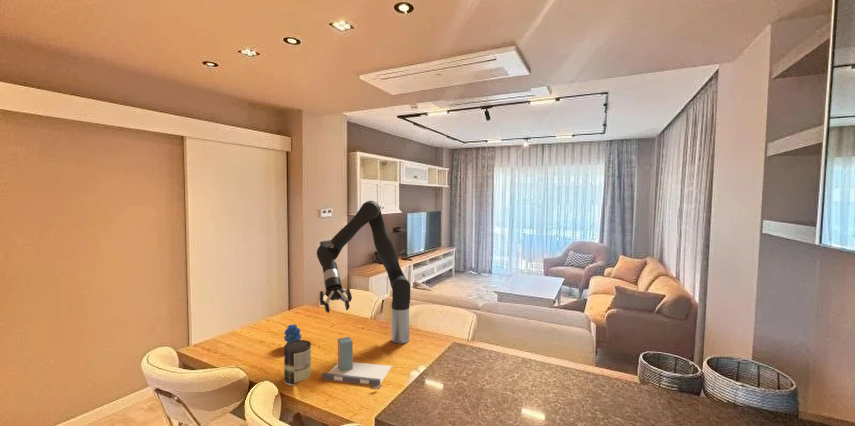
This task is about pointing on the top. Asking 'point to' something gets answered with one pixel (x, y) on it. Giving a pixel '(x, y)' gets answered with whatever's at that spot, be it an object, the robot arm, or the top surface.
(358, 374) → the shelf
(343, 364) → the carton
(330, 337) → the top surface
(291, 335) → the grapes
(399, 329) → the robot arm
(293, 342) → the coffee can
